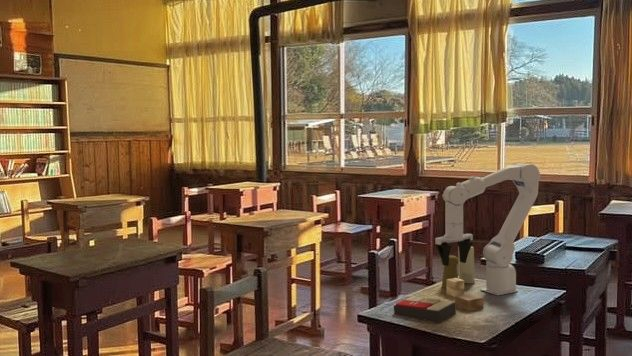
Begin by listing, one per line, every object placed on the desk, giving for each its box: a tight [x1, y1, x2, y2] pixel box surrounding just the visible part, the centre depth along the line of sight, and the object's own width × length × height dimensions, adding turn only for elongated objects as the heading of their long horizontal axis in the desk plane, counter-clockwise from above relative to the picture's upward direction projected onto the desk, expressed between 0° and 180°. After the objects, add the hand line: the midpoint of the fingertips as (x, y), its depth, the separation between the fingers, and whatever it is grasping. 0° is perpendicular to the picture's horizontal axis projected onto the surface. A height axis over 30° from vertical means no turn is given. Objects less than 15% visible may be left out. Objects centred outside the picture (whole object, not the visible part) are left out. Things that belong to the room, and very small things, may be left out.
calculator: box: [393, 295, 457, 324], centre depth 180 cm, size 11×4×15 cm
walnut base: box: [454, 292, 484, 312], centre depth 186 cm, size 6×6×4 cm
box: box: [457, 246, 476, 284], centre depth 215 cm, size 5×4×13 cm
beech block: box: [445, 277, 465, 298], centre depth 200 cm, size 4×4×5 cm
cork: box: [441, 254, 459, 290], centre depth 209 cm, size 6×6×11 cm
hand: (454, 263), depth 199 cm, fingers open, 7 cm apart
